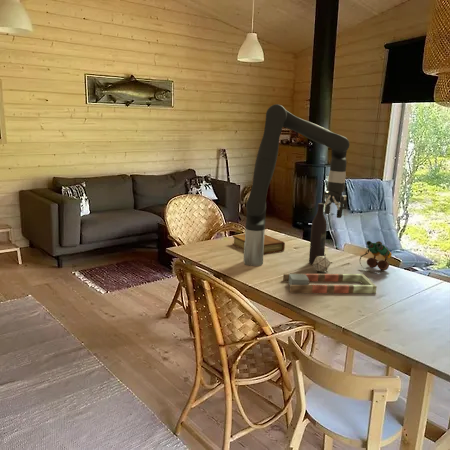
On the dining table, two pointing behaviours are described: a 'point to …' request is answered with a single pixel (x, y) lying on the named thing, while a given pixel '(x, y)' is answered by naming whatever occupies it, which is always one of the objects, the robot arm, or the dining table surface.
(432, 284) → the dining table surface
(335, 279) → the tray
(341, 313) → the dining table surface
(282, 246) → the diary
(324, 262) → the game die
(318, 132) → the robot arm
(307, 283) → the slate block
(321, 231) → the wine bottle
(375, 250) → the wheeled frog toy
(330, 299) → the dining table surface
